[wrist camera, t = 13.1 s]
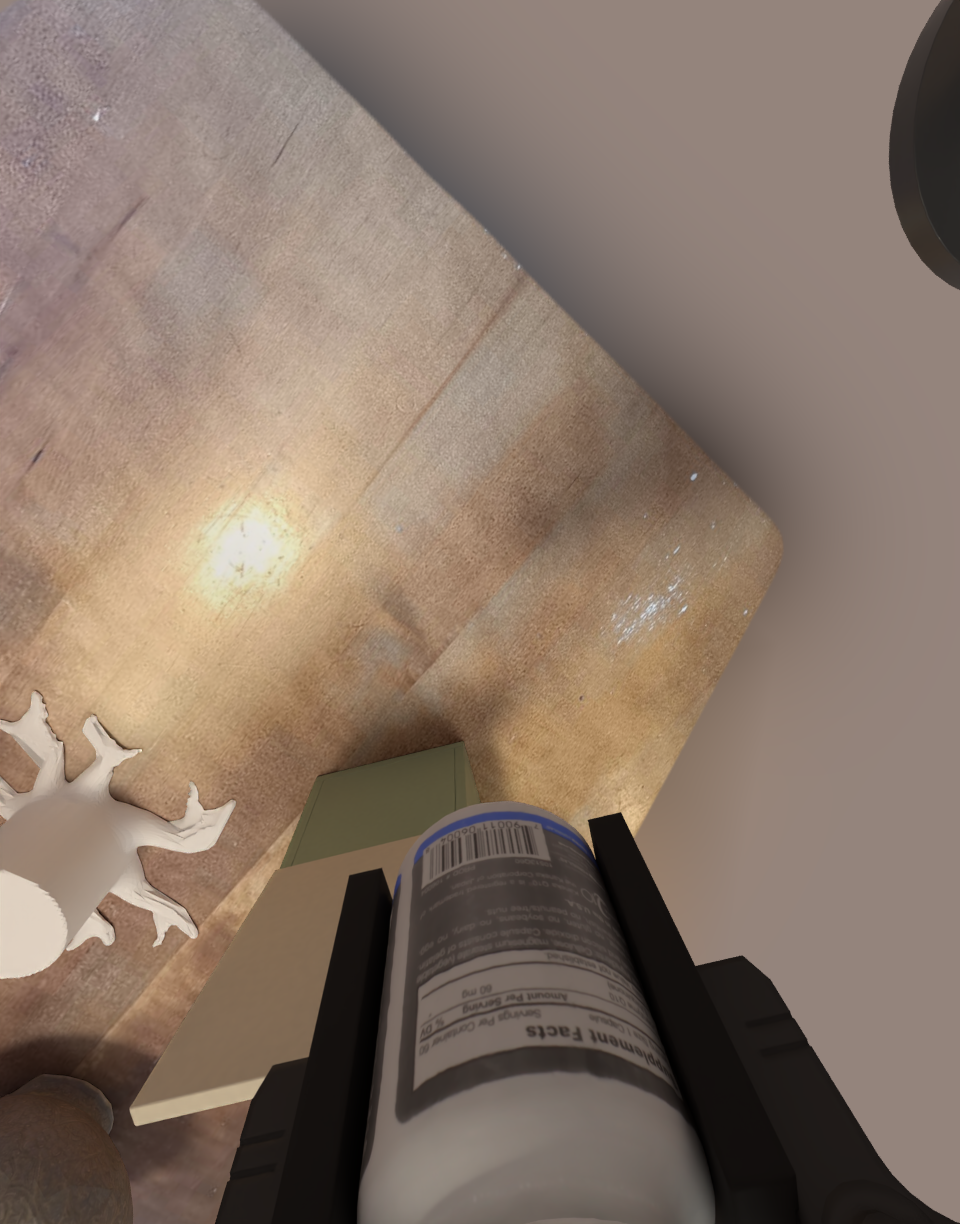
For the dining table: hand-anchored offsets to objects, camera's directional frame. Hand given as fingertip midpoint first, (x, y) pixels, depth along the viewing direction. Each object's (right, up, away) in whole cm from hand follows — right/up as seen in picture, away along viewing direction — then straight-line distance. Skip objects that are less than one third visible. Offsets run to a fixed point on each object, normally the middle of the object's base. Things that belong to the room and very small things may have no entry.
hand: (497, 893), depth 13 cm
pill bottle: (0, 0, 0) cm, 1 cm away
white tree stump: (-34, -13, +35) cm, 50 cm away
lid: (-7, -10, +15) cm, 20 cm away
